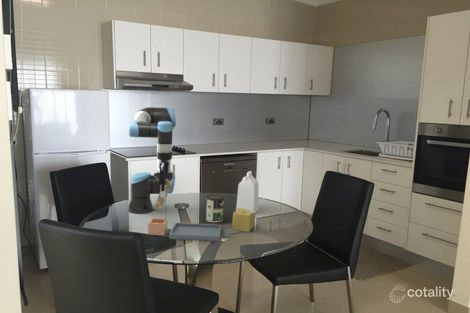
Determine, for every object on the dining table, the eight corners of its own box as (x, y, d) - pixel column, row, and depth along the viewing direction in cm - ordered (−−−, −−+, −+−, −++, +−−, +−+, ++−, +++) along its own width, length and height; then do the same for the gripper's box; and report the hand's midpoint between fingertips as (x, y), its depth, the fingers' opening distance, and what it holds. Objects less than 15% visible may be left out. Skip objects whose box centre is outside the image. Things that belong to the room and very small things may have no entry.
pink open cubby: (147, 234, 199) (148, 223, 198) (151, 228, 207) (151, 218, 207) (164, 235, 199) (164, 224, 198) (167, 229, 207) (167, 218, 207)
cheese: (254, 227, 218) (255, 210, 217) (249, 233, 208) (250, 215, 207) (237, 224, 222) (238, 207, 220) (231, 230, 212) (231, 212, 210)
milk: (253, 215, 240) (255, 174, 236) (235, 212, 244) (237, 172, 240) (258, 210, 251) (260, 171, 247) (241, 207, 255) (243, 169, 251)
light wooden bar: (153, 210, 200) (155, 179, 197) (155, 208, 203) (156, 178, 201) (169, 211, 200) (171, 180, 197) (171, 209, 203) (172, 179, 201)
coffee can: (224, 217, 232) (225, 195, 230) (220, 223, 222) (221, 199, 220) (208, 216, 234) (209, 193, 232) (203, 221, 224) (204, 197, 222)
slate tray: (169, 238, 194) (169, 234, 194) (175, 226, 212) (175, 222, 212) (219, 241, 194) (219, 236, 194) (221, 229, 212) (221, 224, 212)
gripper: (169, 154, 188) (168, 200, 192) (174, 149, 205) (173, 192, 208) (153, 153, 188) (153, 199, 192) (160, 149, 205) (159, 191, 208)
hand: (163, 195), depth 200 cm, fingers closed on light wooden bar, 4 cm apart
